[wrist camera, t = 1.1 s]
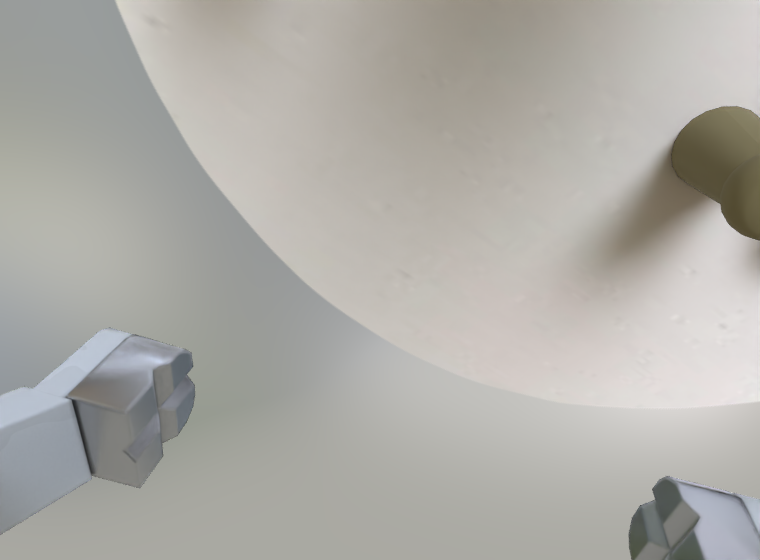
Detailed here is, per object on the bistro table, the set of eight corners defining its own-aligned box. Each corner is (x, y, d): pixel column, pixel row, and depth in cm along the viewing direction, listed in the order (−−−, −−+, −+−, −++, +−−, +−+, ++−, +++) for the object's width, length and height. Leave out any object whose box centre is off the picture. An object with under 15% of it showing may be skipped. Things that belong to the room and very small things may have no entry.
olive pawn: (741, 194, 38) (817, 265, 29) (658, 180, 38) (705, 246, 29) (784, 112, 34) (884, 164, 25) (691, 100, 35) (757, 145, 26)
